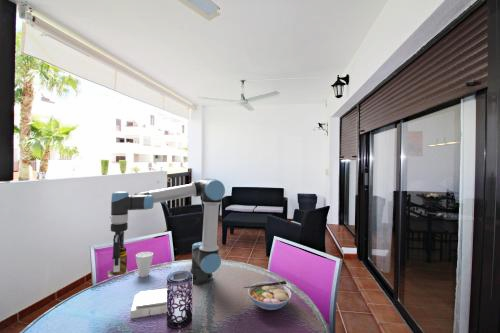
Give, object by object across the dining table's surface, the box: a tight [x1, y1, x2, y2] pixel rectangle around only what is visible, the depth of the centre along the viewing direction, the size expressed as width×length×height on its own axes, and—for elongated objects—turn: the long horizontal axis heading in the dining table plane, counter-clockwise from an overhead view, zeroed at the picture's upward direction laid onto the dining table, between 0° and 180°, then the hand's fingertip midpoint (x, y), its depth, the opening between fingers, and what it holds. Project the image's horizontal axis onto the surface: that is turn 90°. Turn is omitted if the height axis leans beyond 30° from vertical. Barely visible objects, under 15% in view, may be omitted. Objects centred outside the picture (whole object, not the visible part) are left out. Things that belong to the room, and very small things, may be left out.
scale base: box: [130, 293, 167, 319], centre depth 123 cm, size 18×17×4 cm
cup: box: [135, 251, 154, 278], centre depth 159 cm, size 10×10×14 cm
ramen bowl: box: [243, 280, 292, 311], centre depth 127 cm, size 25×23×8 cm
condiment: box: [107, 246, 129, 278], centre depth 122 cm, size 7×8×12 cm
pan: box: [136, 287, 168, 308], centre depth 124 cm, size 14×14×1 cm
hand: (118, 268), depth 122 cm, fingers closed on condiment, 6 cm apart
